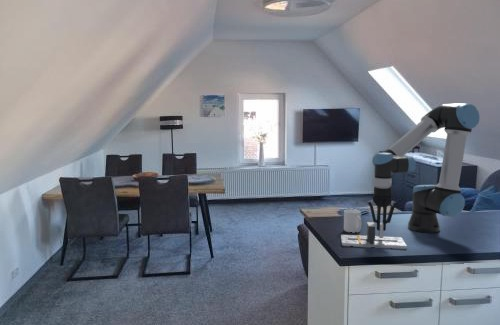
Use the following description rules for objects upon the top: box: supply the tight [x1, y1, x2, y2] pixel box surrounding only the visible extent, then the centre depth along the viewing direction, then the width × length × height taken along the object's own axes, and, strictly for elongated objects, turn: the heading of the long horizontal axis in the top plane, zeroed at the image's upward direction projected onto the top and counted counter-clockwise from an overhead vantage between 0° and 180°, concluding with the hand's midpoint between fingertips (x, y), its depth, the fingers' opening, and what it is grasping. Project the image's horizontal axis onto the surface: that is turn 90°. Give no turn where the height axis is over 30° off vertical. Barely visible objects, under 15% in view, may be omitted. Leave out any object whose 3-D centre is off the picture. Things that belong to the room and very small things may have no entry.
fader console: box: [340, 234, 408, 250], centre depth 193 cm, size 28×13×2 cm, turn 80°
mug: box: [343, 208, 363, 234], centre depth 211 cm, size 12×8×10 cm
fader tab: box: [366, 221, 376, 241], centre depth 193 cm, size 3×6×7 cm, turn 170°
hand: (380, 237), depth 192 cm, fingers closed
